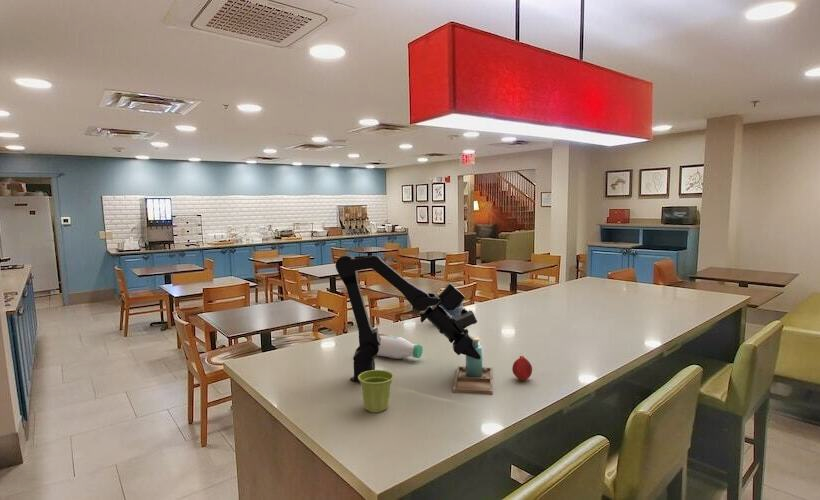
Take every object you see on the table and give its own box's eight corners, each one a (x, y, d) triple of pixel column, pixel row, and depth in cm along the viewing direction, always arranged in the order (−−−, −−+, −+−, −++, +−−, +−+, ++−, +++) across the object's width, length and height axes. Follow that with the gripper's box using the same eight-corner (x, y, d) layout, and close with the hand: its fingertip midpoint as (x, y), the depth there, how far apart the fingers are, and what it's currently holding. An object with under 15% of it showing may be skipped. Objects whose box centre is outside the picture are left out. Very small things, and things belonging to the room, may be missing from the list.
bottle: (478, 378, 134) (478, 341, 133) (462, 375, 137) (462, 339, 136) (485, 373, 138) (485, 337, 137) (470, 370, 141) (470, 335, 140)
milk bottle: (370, 358, 161) (418, 367, 152) (363, 343, 157) (412, 352, 148) (380, 342, 167) (427, 350, 157) (373, 328, 163) (421, 335, 153)
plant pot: (394, 399, 121) (393, 369, 121) (394, 415, 112) (393, 382, 111) (360, 400, 121) (359, 370, 120) (357, 416, 112) (356, 383, 111)
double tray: (492, 396, 123) (492, 390, 122) (453, 393, 125) (453, 388, 124) (492, 372, 141) (492, 366, 141) (457, 370, 143) (457, 365, 143)
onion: (517, 376, 137) (517, 351, 137) (535, 380, 134) (535, 354, 133) (509, 381, 133) (509, 355, 132) (527, 386, 129) (527, 359, 128)
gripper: (465, 309, 126) (503, 346, 127) (457, 297, 145) (490, 329, 146) (438, 336, 127) (476, 373, 128) (433, 321, 145) (467, 353, 146)
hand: (478, 355), depth 137 cm, fingers closed on bottle, 5 cm apart
